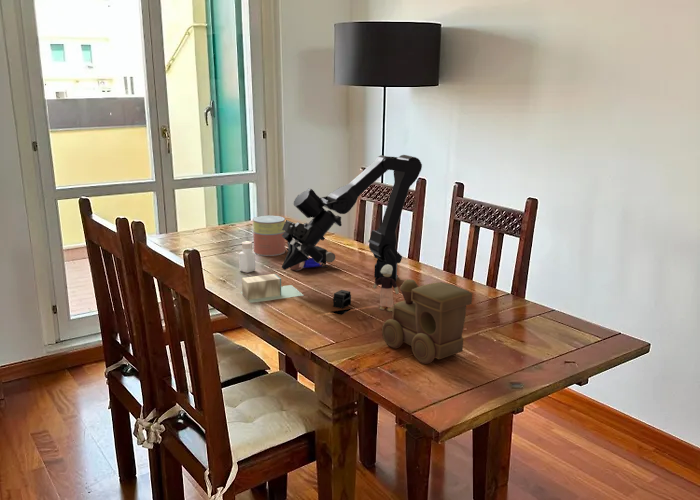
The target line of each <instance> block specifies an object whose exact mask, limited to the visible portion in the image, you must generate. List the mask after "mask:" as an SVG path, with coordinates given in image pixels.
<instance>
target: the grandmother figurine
mask: <svg viewBox="0 0 700 500" xmlns="http://www.w3.org/2000/svg"><path fill="white" fill-rule="evenodd" d="M392 270H393V267H392V266H391V265H389V264H387V265H385V266H383V267H382V269H381V271H380V272H381V273H382V274H383V276H384V277H380V278H378V279H377V280H376V281H375V280H374V284H373V286H372V287H373V289H377V288H378V286H380V292H379V293H380V295H379V300H380V301H379V303H380V304H379V305H380V306H379V310H382V311H383V310H386V311H387V312H393V305H394V293H395V294H396V295H398V294H399V293H400V292H399V287H398V285H397V281H396V282H395V281H394V279H392V278H390V276H391V275H392ZM393 289H394V290H393Z"/></svg>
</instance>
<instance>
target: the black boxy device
mask: <svg viewBox="0 0 700 500" xmlns="http://www.w3.org/2000/svg"><path fill="white" fill-rule="evenodd" d="M332 300H333V301H332V306H333V307H334V308H337V309H341V310H334V311H333V310H332V311H330V313H332V314H335V315H339V316H343V315H344V314H346V313H348V312H350V311H352V309H354V308H347V307H348V306H350V305H351V304H352V294H351V291H349V290H344V289H340V290H338V291H336V292H334V293H333V299H332ZM345 308H346V309H345Z"/></svg>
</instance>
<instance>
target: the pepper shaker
mask: <svg viewBox="0 0 700 500" xmlns="http://www.w3.org/2000/svg"><path fill="white" fill-rule="evenodd" d="M252 248H253V243H252V241H246V240H245V241H242V242H241V250H242V251H240V252H239V253H238V262H239V263H238V268H239V271H240V272H244V273H248V274H249V273H252V272H254V271H256V268H257V267H256V266H257V265H256V254H255V253H254V250H253V249H252Z"/></svg>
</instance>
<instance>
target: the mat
mask: <svg viewBox="0 0 700 500" xmlns="http://www.w3.org/2000/svg"><path fill="white" fill-rule="evenodd" d="M239 293H240V295H242V291H240V292H239ZM302 296H304V294H303V293H302V292H301V291H299V290H298V289H297V288H296V287H294V286H293V285H292V284H289V285H288V284H287V285H283V286H282V285H281V295H280V296H273V297H265V298H258V299H251V300H247V301H248V302H249V304H254V303H259V302H260V303H261V302H266V301H273V300H281V299H288V298H294V297H295V298H296V297H302Z"/></svg>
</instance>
